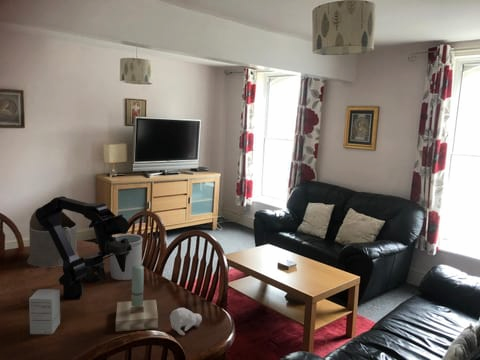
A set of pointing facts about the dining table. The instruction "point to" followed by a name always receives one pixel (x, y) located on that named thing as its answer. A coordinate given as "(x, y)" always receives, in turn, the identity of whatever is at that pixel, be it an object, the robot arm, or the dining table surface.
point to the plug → (137, 285)
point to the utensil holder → (131, 258)
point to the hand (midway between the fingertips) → (114, 276)
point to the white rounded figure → (184, 319)
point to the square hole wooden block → (136, 316)
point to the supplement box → (44, 311)
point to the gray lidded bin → (49, 242)
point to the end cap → (91, 275)
